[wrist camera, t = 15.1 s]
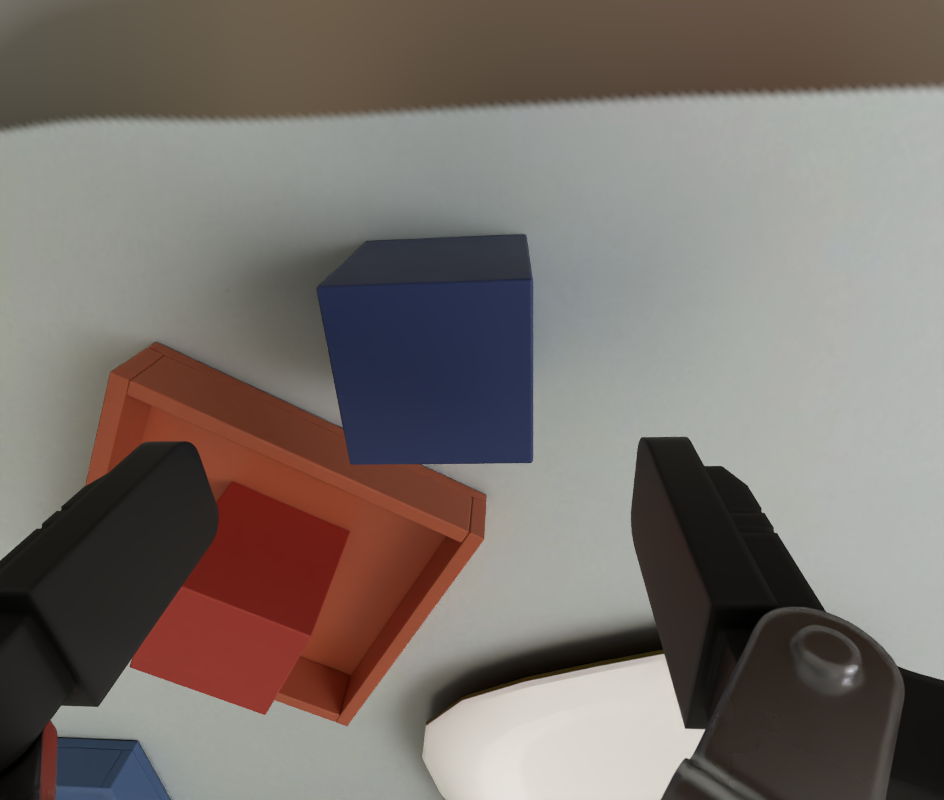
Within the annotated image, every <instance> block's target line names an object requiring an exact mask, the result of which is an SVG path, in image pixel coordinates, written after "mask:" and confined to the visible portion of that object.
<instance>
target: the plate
mask: <svg viewBox="0 0 944 800" xmlns="http://www.w3.org/2000/svg"><path fill="white" fill-rule="evenodd" d="M704 731H705V729H685V726H684V723H683V719H682V716H681V712H680V708H679V705H678V701H677V698H676V694H675V691H674V687H673V683H672V680H671V676H670V673H669V669H668V665H667V662H666V658H665V655H664V651H663V650H658V651H652V652H647V653H642V654H637V655H631V656H626V657H621V658H615V659H610V660H605V661H600V662H595V663H590V664H585V665H581V666H576V667H571V668H567V669H562V670H557V671H553V672H548V673H543V674H539V675H534V676H529V677H525V678H522V679H519V680H515V681H512V682H509V683H506V684H502V685H499V686H496V687H493V688H489V689H486V690H483V691H479V692H476V693H473V694H470V695H466V696H463V697H462V698H460V699H459V700H457V701H456V702H455V703H453V704H452V705H450V706H449V707H447V708H446V709H445V710H443V711H442V712H440V713H439V714H438V715H436V716H435V717H433V718H432V719H430V720H429V721H428V722H426V729H425V737H424V746H423V754H422V759H423V761H424V763H425V765H426V767H427V769H428V771H429V773H430V774H431V776H432V778H433V780H434V782H435V784H436V786H437V788H438V790H439V792H440V793H441V795H442V796H443V797H444V799H445V800H661V798H662V796H663V794H664V792H665V790H666V788H667V787H668V785H669V783H670V781H671V779H672V777H673V775H674V773H675V772H676V770H677V768H678V767H679V765H680V764H681V762H682V761H683V760H684V759H685V758H688V759H690V758H691V757H692V755H693V753H694V752H695V750H696V748H697V746H698V744H699V742H700V740H701V738H702V736H703V733H704Z"/></svg>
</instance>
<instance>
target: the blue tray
mask: <svg viewBox="0 0 944 800" xmlns="http://www.w3.org/2000/svg"><path fill="white" fill-rule="evenodd" d="M56 800H170V798H169V796H168V795H167V793H166V791H165V789H164V787H163V786H162V784H161V782H160V780H159V778H158V777H157V775H156V773H155V771H154V769H153V768H152V766H151V764H150V762H149V760H148V759H147V757H146V755H145V753H144V751H143V750H142V748H141V746H140V744H139V742H138V741H118V740H94V739H70V738H58V742H57V778H56Z"/></svg>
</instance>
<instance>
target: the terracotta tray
mask: <svg viewBox="0 0 944 800" xmlns="http://www.w3.org/2000/svg"><path fill="white" fill-rule="evenodd" d="M154 441H188V442H191V443H192V444H193V445H194V446H195V447H196V448H197V450H198V452H199V455H200V458H201V461H202V464H203V466H204V469H205V472H206V475H207V478H208V481H209V484H210V487H211V490H212V492H213V495H214V498H215V501H216V502H217V500H218V499H219V498H220V496H221V495H222V494H223V492H224V491H225V490H226V488H227V487H228V486H229V484H230V483H231V482H232V481H233V482H236V483H238V484H240V485H243V486H245V487H247V488H250V489H252V490H254V491H257V492H259V493H261V494H264V495H266V496H268V497H271V498H273V499H275V500H278V501H280V502H282V503H285V504H287V505H289V506H292V507H294V508H296V509H299V510H301V511H303V512H306V513H308V514H310V515H313V516H315V517H317V518H320V519H322V520H324V521H327V522H329V523H331V524H334V525H336V526H338V527H341V528H343V529H345V530H348V531H350V534H349V537H348V540H347V542H346V545H345V548H344V550H343V553H342V556H341V558H340V561H339V564H338V566H337V569H336V572H335V574H334V577H333V580H332V582H331V585H330V588H329V591H328V593H327V596H326V599H325V601H324V604H323V607H322V609H321V612H320V615H319V617H318V620H317V623H316V625H315V628H314V631H313V633H312V636H311V638H310V640H309V641H308V643H307V645H306V646H305V648H304V650H303V652H302V653H301V655H300V657H299V658H298V660H297V662H296V664H295V665H294V667H293V669H292V670H291V672H290V674H289V675H288V677H287V679H286V681H285V682H284V684H283V686H282V687H281V689H280V691H279V692H278V694H277V696H276V698H275V699H274V700H276V701H279V702H282V703H284V704H287V705H290V706H293V707H296V708H298V709H301V710H304V711H307V712H309V713H312V714H315V715H318V716H321V717H323V718H326V719H329V720H332V721H336V722H337V723H340V724H342V725H345V726H348V724H349V723H350V721H351V720H352V719H353V717H354V716H355V715H356V713H357V712H358V711H359V709H360V708H361V706H362V705H363V704H364V702H365V701H366V700H367V698H368V697H369V696H370V694H371V693H372V691H373V690H374V689H375V687H376V686H377V685H378V683H379V682H380V681H381V679H382V678H383V676H384V675H385V674H386V672H387V671H388V670H389V668H390V667H391V666H392V664H393V663H394V661H395V660H396V659H397V657H398V656H399V655H400V653H401V652H402V651H403V649H404V648H405V646H406V645H407V644H408V642H409V641H410V640H411V638H412V637H413V636H414V634H415V633H416V631H417V630H418V629H419V627H420V626H421V625H422V623H423V622H424V621H425V619H426V618H427V616H428V615H429V614H430V612H431V611H432V610H433V608H434V607H435V606H436V604H437V603H438V601H439V600H440V599H441V597H442V596H443V595H444V593H445V592H446V591H447V589H448V588H449V586H450V585H451V584H452V582H453V581H454V580H455V578H456V577H457V576H458V574H459V573H460V571H461V570H462V569H463V567H464V566H465V565H466V563H467V562H468V561H469V559H470V558H471V556H472V555H473V554H474V552H475V551H476V550H477V548H478V547H479V546H480V544H481V543H482V541H483V540H484V532H485V514H486V495H485V494H482V493H480V492H478V491H476V490H474V489H472V488H470V487H467V486H465V485H463V484H461V483H459V482H457V481H454V480H452V479H450V478H448V477H446V476H444V475H442V474H439V473H437V472H435V471H433V470H431V469H429V468H426V467H424V466H422V465H420V464H379V465H351V464H350V461H349V456H348V451H347V446H346V441H345V435H344V430H343V429H342V428H340V427H338V426H336V425H334V424H332V423H329V422H327V421H325V420H323V419H321V418H319V417H316V416H314V415H312V414H310V413H308V412H306V411H304V410H301V409H299V408H297V407H295V406H293V405H291V404H288V403H286V402H284V401H282V400H280V399H278V398H276V397H273V396H271V395H269V394H267V393H265V392H263V391H260V390H258V389H256V388H254V387H252V386H250V385H247V384H245V383H243V382H241V381H239V380H237V379H235V378H232V377H230V376H228V375H226V374H224V373H222V372H219V371H217V370H215V369H213V368H211V367H209V366H207V365H204V364H202V363H200V362H198V361H196V360H194V359H191V358H189V357H187V356H185V355H183V354H181V353H178V352H176V351H174V350H172V349H170V348H168V347H166V346H163V345H161V344H159V343H157V342H155V343H154V344H152V345H151V346H149V347H148V348H146V349H144V350H143V351H141V352H140V353H138V354H137V355H135V356H134V357H132V358H131V359H129V360H128V361H126V362H125V363H123V364H122V365H120V366H119V367H117V368H116V369H114V370H113V371H111V372H110V376H109V380H108V385H107V389H106V394H105V398H104V403H103V408H102V412H101V417H100V421H99V426H98V430H97V435H96V439H95V444H94V448H93V453H92V457H91V462H90V467H89V471H88V476H87V480H86V485H88V484H90V483H92V482H93V481H95V480H97V479H99V478H100V477H102V476H104V475H106V474H107V473H109V472H110V471H111V470H112V469H113V468H114V467H115V466H117V465H118V464H119V463H120V462H121V461H122V460H123V459H124V458H125V457H127V456H128V455H129V454H130V453H131V452H132V451H133V450H134V449H135V448H137V447H138V446H139V445H140V444H142V443H144V442H154ZM86 485H85V486H86Z"/></svg>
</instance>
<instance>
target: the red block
mask: <svg viewBox="0 0 944 800" xmlns="http://www.w3.org/2000/svg"><path fill="white" fill-rule="evenodd" d="M216 504H217V507H218V512H219V524H218V530H217V533H216V536H215V538H214V540H213V542H212V544H211V545H210V547H209V548H208V549H207V551H206V552H205V554H204V555H203V557H202V558H201V560H200V561H199V562H198V564H197V565H196V567H195V568H194V570H193V571H192V572H191V574H190V575H189V577H188V578H187V580H186V581H185V583H184V584H183V585H182V587H181V588H180V590H179V591H178V593H177V594H176V596H175V597H174V598H173V600H172V601H171V603H170V604H169V606H168V607H167V608H166V610H165V611H164V613H163V614H162V616H161V617H160V619H159V620H158V621H157V623H156V624H155V626H154V627H153V629H152V630H151V632H150V633H149V634H148V636H147V637H146V639H145V640H144V642H143V643H142V644H141V646H140V647H139V649H138V650H137V652H136V653H135V655H134V656H133V658H132V661H131V664H130V667H131V668H134V669H137V670H139V671H142V672H145V673H148V674H151V675H154V676H156V677H159V678H162V679H165V680H168V681H171V682H173V683H176V684H179V685H182V686H185V687H188V688H190V689H193V690H196V691H199V692H202V693H205V694H207V695H210V696H213V697H216V698H219V699H222V700H224V701H227V702H230V703H233V704H236V705H239V706H241V707H244V708H247V709H250V710H253V711H256V712H258V713H261V714H266V713H267V711H268V710H269V708H270V706H271V704H272V703H273V701H274V699H275V698H276V696H277V694H278V692H279V691H280V689H281V687H282V686H283V684H284V682H285V681H286V679H287V677H288V675H289V674H290V672H291V670H292V669H293V667H294V665H295V664H296V662H297V660H298V658H299V657H300V655H301V653H302V652H303V650H304V648H305V646H306V645H307V643H308V641H309V640H310V638H311V636H312V633H313V631H314V628H315V625H316V623H317V620H318V617H319V615H320V612H321V609H322V607H323V604H324V601H325V599H326V596H327V593H328V591H329V588H330V585H331V582H332V580H333V577H334V574H335V572H336V569H337V566H338V564H339V561H340V558H341V556H342V553H343V550H344V548H345V545H346V542H347V540H348V537H349V534H350V531H348V530H345V529H343V528H341V527H338V526H336V525H334V524H331V523H329V522H327V521H324V520H322V519H320V518H317V517H315V516H313V515H310V514H308V513H306V512H303V511H301V510H299V509H296V508H294V507H292V506H289V505H287V504H285V503H282V502H280V501H278V500H275V499H273V498H271V497H268V496H266V495H264V494H261V493H259V492H257V491H254V490H252V489H250V488H247V487H245V486H243V485H240V484H238V483H236V482H233V481H232V482H231V483H230V484H229V486H228V487H227V488H226V490H225V491H224V492H223V494H222V495H221V496H220V498H219V499H218V500H217V502H216Z"/></svg>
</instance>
